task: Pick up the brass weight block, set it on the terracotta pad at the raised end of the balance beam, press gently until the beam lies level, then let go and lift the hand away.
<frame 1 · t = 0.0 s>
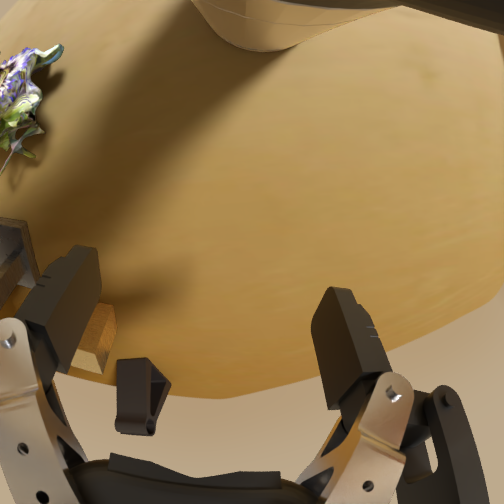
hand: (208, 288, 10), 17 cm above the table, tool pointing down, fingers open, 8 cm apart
phone stand: (145, 371, 44), on the table
brass weight: (99, 313, 35), on the table
passion flower: (37, 99, 19), on the table
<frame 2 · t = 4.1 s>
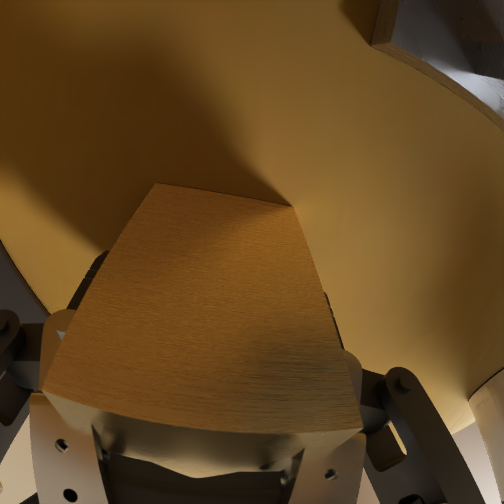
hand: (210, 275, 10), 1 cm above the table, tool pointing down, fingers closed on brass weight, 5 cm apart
brass weight: (213, 252, 11), on the table, touching gripper
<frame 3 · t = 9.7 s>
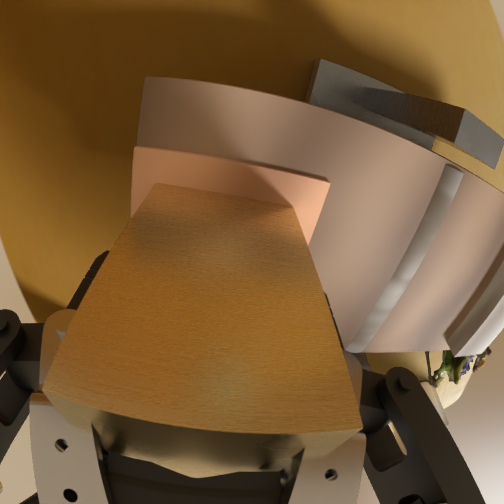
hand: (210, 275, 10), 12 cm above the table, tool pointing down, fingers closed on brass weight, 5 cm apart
beam: (400, 271, 13), point 10 cm above the table, hinge at 0.0°, touching brass weight
brass weight: (214, 252, 11), point 10 cm above the table, touching beam, gripper
pivot stand: (344, 194, 21), on the table
passion flower: (436, 315, 31), on the table
when the fingers open (12 cm above the table, at t = 10.5 s): brass weight stays where it is, resting on beam.
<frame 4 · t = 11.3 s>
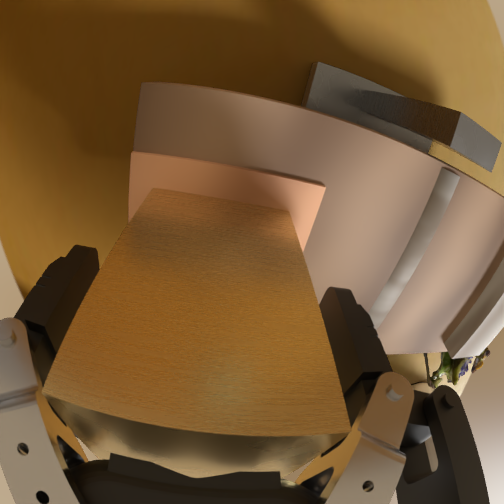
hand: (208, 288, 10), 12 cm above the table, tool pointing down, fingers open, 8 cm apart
beam: (396, 274, 13), point 10 cm above the table, hinge at 0.0°, touching brass weight
brass weight: (210, 255, 11), point 10 cm above the table, touching beam
pivot stand: (342, 196, 21), on the table
passion flower: (434, 316, 31), on the table
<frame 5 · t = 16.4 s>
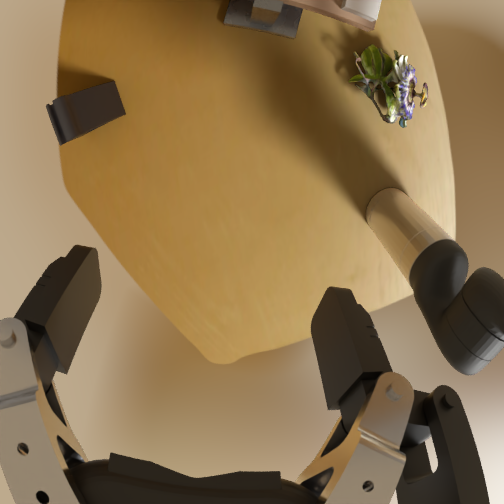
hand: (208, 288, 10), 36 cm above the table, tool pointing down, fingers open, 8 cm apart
phone stand: (98, 108, 36), on the table
passion flower: (376, 84, 36), on the table
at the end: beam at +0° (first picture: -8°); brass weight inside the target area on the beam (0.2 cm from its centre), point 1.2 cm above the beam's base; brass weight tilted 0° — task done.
